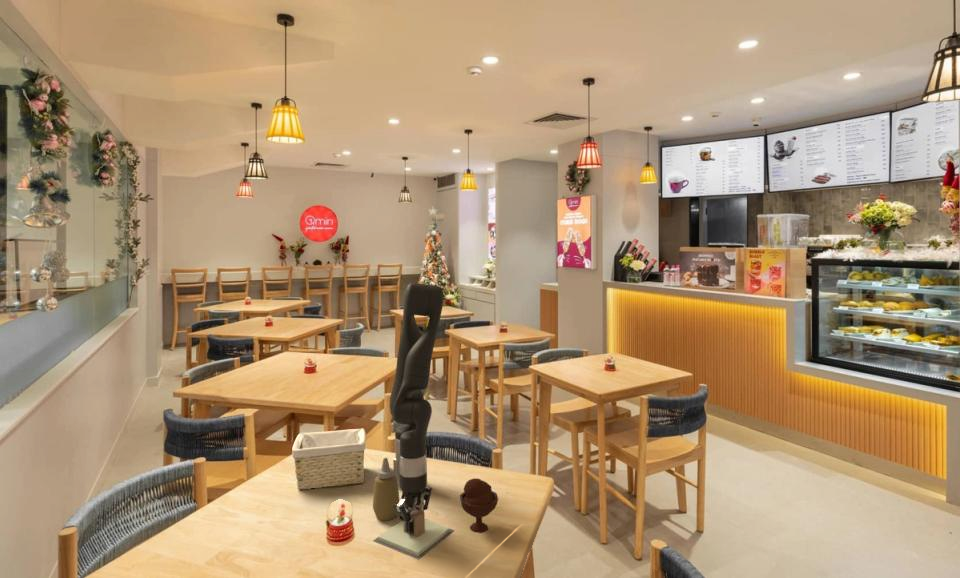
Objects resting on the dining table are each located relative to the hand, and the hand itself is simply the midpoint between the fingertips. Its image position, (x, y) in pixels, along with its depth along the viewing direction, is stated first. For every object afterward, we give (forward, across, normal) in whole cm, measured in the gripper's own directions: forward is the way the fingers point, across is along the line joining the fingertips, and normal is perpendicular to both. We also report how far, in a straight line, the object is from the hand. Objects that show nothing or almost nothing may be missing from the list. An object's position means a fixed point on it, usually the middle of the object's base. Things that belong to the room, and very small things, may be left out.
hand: (414, 530), depth 144 cm
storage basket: (+2, -13, -48) cm, 50 cm away
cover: (+2, 0, 0) cm, 2 cm away
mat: (+2, 0, 0) cm, 2 cm away
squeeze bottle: (+2, -4, -14) cm, 15 cm away
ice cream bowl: (+2, -13, +13) cm, 19 cm away
